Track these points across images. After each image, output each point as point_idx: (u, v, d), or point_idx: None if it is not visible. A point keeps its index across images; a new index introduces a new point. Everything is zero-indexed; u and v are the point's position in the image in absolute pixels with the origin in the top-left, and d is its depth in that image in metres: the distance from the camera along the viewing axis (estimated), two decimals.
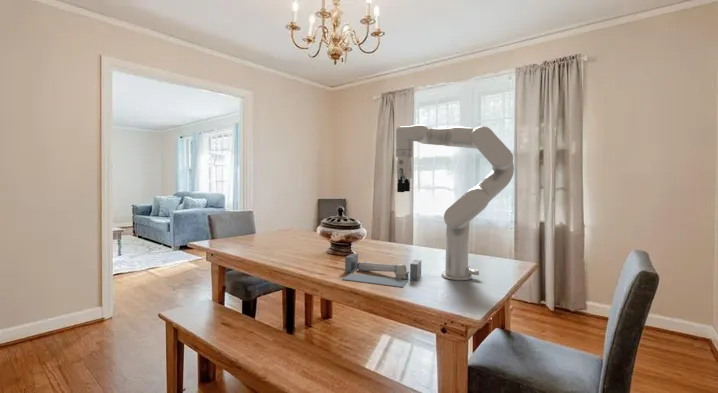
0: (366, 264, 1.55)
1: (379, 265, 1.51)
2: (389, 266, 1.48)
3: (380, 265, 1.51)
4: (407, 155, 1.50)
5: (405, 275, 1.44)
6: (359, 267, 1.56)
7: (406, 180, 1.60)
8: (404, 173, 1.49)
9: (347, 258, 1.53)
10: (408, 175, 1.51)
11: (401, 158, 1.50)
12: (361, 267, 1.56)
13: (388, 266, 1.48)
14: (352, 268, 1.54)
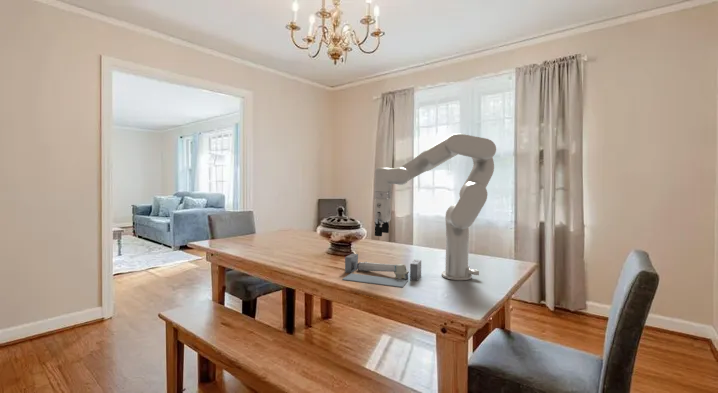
0: (366, 264, 1.55)
1: (379, 265, 1.51)
2: (389, 266, 1.48)
3: (380, 265, 1.51)
4: (385, 198, 1.46)
5: (405, 275, 1.44)
6: (359, 267, 1.56)
7: (385, 221, 1.55)
8: (382, 217, 1.45)
9: (347, 258, 1.53)
10: (386, 218, 1.47)
11: (379, 201, 1.45)
12: (361, 267, 1.56)
13: (388, 266, 1.48)
14: (352, 268, 1.54)
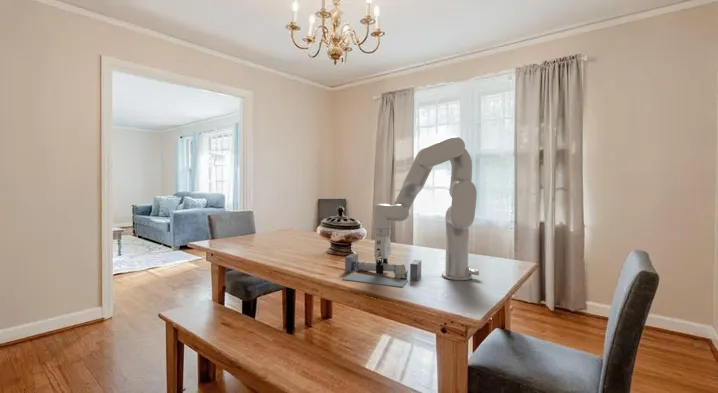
0: (365, 264, 1.55)
1: None
2: (388, 266, 1.48)
3: None
4: (385, 235, 1.47)
5: (404, 274, 1.44)
6: (358, 267, 1.57)
7: (384, 258, 1.55)
8: (381, 254, 1.46)
9: (347, 258, 1.53)
10: (386, 255, 1.47)
11: (379, 238, 1.46)
12: (360, 267, 1.56)
13: (387, 266, 1.48)
14: (352, 268, 1.54)
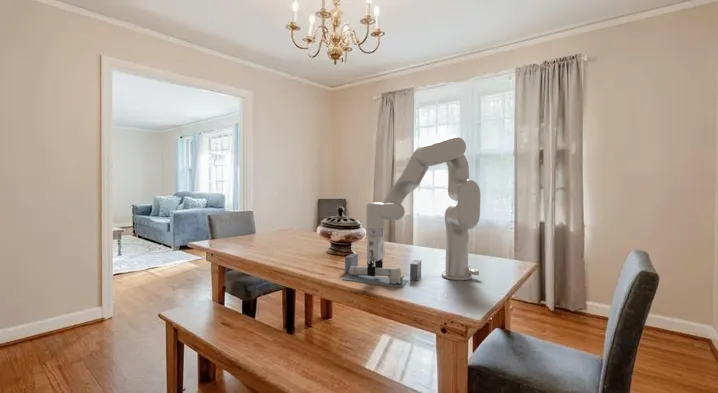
0: (357, 268, 1.45)
1: None
2: (382, 270, 1.39)
3: None
4: (378, 235, 1.37)
5: (400, 279, 1.35)
6: (350, 271, 1.47)
7: None
8: (374, 256, 1.36)
9: (347, 258, 1.53)
10: (379, 257, 1.38)
11: (371, 239, 1.37)
12: (352, 271, 1.46)
13: (381, 270, 1.39)
14: None
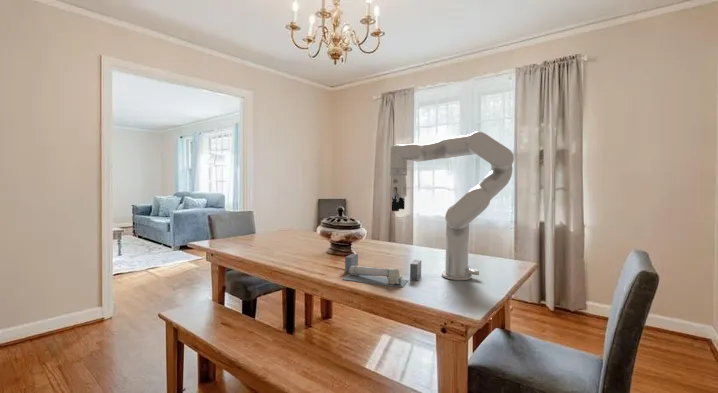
0: (357, 268, 1.46)
1: (371, 269, 1.42)
2: (381, 270, 1.39)
3: (372, 269, 1.41)
4: (401, 174, 1.50)
5: (398, 280, 1.34)
6: (350, 271, 1.47)
7: (401, 198, 1.59)
8: (398, 192, 1.49)
9: (347, 258, 1.53)
10: (402, 194, 1.50)
11: (395, 177, 1.49)
12: (352, 271, 1.47)
13: (380, 270, 1.39)
14: None
